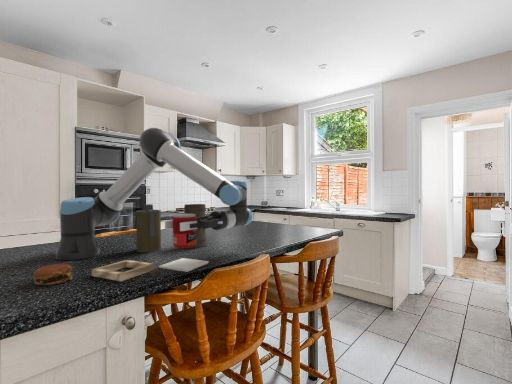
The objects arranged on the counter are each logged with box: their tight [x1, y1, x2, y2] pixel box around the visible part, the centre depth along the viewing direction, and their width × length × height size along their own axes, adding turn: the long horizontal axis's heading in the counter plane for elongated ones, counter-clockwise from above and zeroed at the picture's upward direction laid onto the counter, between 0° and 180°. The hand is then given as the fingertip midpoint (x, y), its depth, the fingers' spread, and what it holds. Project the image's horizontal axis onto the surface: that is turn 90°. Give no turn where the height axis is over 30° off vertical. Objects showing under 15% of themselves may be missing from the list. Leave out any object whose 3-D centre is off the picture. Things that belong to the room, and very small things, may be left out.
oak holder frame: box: [91, 259, 155, 282], centre depth 91 cm, size 13×13×2 cm
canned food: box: [172, 213, 196, 249], centre depth 99 cm, size 8×8×11 cm
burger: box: [32, 263, 73, 286], centre depth 83 cm, size 10×9×5 cm
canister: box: [135, 203, 162, 253], centre depth 125 cm, size 11×10×20 cm
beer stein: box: [183, 203, 208, 249], centre depth 136 cm, size 15×11×20 cm
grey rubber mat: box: [158, 257, 209, 273], centre depth 100 cm, size 12×12×1 cm
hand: (172, 226), depth 96 cm, fingers closed on canned food, 8 cm apart
